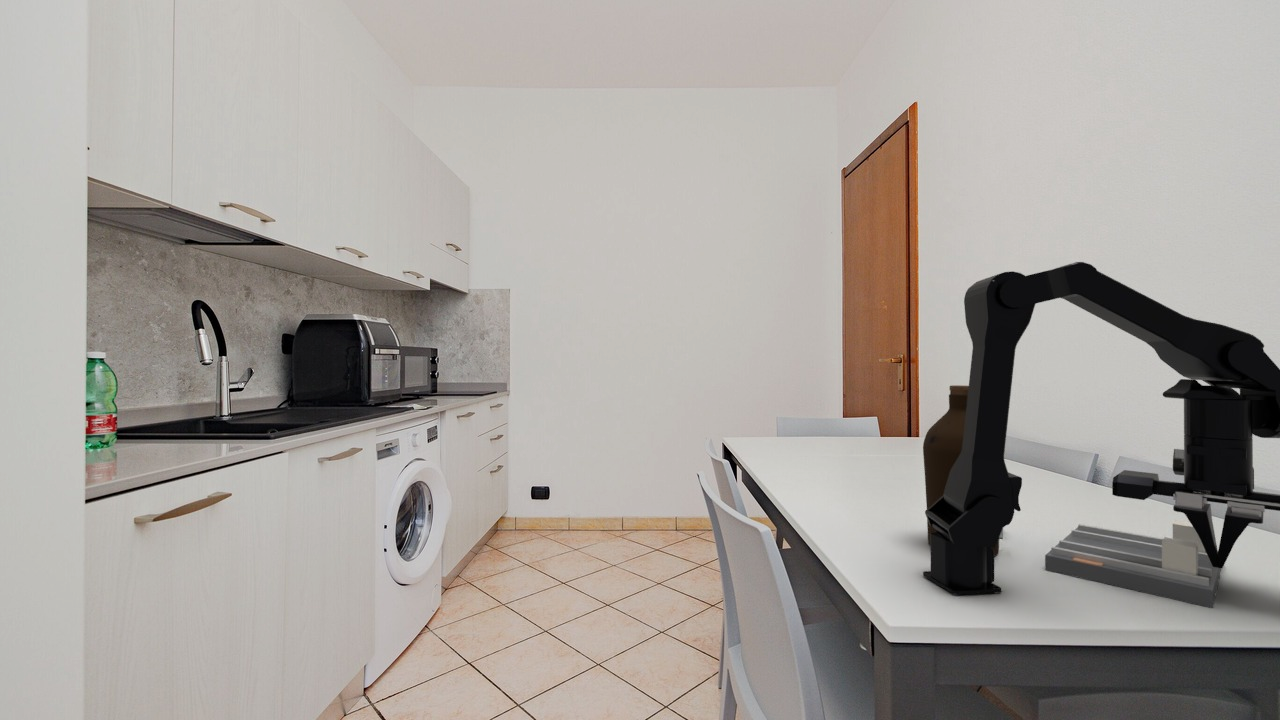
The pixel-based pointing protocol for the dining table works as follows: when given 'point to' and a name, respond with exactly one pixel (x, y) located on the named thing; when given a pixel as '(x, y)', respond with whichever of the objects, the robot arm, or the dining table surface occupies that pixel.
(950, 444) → the olive oil
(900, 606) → the dining table surface
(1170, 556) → the tab near
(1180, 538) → the tab far
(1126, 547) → the switch panel
